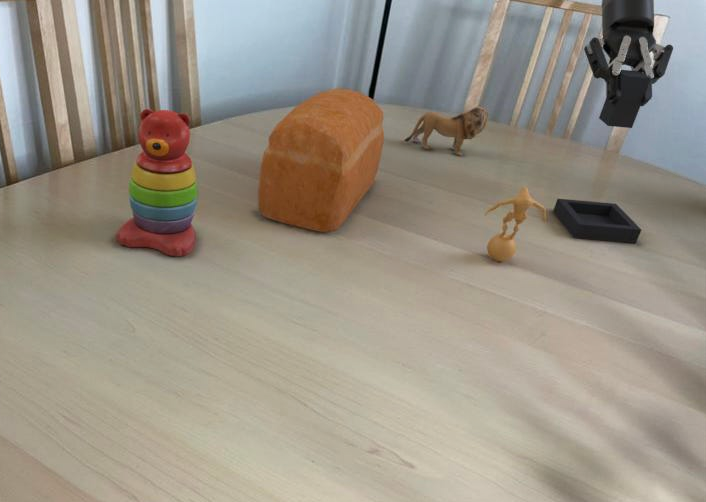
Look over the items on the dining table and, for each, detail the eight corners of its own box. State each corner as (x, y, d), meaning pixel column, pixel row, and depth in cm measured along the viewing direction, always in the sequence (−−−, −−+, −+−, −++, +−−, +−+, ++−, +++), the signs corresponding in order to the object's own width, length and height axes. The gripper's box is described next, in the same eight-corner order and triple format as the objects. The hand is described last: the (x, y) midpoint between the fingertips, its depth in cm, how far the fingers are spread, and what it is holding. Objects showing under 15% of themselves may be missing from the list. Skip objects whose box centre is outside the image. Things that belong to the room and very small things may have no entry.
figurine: (523, 256, 110) (549, 180, 103) (532, 276, 105) (561, 197, 98) (467, 250, 111) (489, 173, 104) (473, 269, 106) (498, 190, 99)
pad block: (622, 120, 125) (640, 71, 120) (632, 128, 121) (651, 78, 117) (598, 118, 125) (616, 69, 120) (607, 126, 121) (626, 75, 117)
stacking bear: (111, 244, 103) (110, 115, 92) (138, 215, 111) (140, 95, 101) (185, 259, 101) (192, 130, 91) (207, 229, 109) (216, 108, 99)
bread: (379, 181, 130) (398, 89, 121) (336, 238, 110) (354, 134, 101) (305, 163, 134) (318, 74, 125) (250, 216, 114) (260, 113, 105)
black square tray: (610, 216, 126) (616, 203, 125) (635, 243, 118) (641, 229, 116) (552, 211, 126) (557, 198, 124) (573, 238, 117) (579, 224, 116)
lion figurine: (477, 149, 149) (489, 104, 144) (479, 159, 144) (492, 112, 139) (403, 139, 150) (413, 94, 145) (403, 147, 146) (413, 101, 141)
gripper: (596, -13, 118) (597, 86, 115) (684, -4, 119) (688, 94, 116) (573, 16, 126) (574, 110, 123) (656, 24, 126) (659, 117, 123)
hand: (629, 102), depth 119 cm, fingers closed on pad block, 4 cm apart
